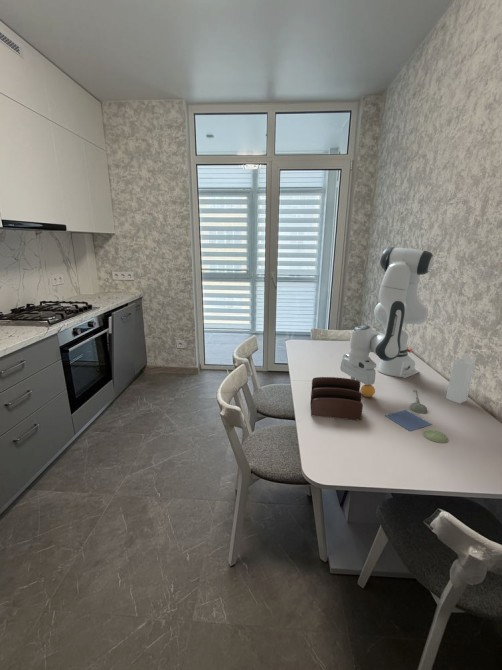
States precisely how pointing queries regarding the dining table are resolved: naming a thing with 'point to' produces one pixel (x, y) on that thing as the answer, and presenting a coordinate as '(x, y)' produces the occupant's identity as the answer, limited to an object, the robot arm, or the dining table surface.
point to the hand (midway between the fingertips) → (355, 386)
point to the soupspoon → (418, 406)
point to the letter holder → (336, 398)
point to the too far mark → (435, 436)
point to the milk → (460, 379)
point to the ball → (368, 390)
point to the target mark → (408, 420)
